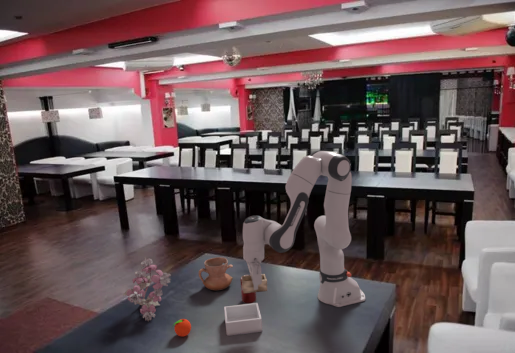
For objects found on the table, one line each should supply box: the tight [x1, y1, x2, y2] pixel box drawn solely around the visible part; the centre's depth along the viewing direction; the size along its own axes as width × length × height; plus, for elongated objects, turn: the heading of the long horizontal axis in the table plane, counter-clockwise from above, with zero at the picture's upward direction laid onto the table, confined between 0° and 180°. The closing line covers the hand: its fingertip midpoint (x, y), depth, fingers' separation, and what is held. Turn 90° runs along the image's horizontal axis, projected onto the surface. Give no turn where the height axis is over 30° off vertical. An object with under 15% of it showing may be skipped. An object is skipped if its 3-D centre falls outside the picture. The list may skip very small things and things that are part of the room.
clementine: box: [171, 318, 192, 338], centre depth 163 cm, size 8×7×7 cm
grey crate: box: [223, 302, 263, 337], centre depth 168 cm, size 15×13×6 cm
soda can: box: [240, 274, 257, 304], centre depth 188 cm, size 7×7×12 cm
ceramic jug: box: [198, 256, 233, 291], centre depth 203 cm, size 18×14×14 cm
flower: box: [122, 257, 173, 322], centre depth 182 cm, size 20×22×25 cm
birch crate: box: [241, 273, 268, 293], centre depth 166 cm, size 10×6×5 cm, turn 98°
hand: (254, 284), depth 166 cm, fingers closed on birch crate, 6 cm apart
